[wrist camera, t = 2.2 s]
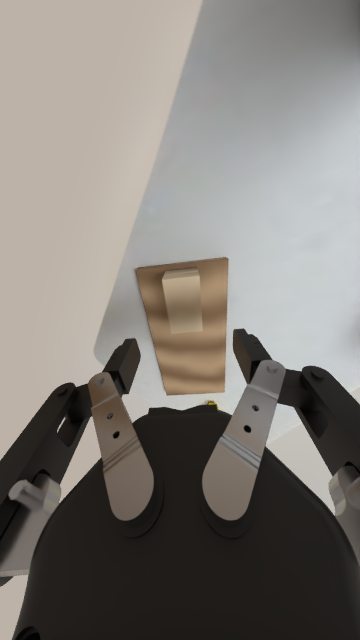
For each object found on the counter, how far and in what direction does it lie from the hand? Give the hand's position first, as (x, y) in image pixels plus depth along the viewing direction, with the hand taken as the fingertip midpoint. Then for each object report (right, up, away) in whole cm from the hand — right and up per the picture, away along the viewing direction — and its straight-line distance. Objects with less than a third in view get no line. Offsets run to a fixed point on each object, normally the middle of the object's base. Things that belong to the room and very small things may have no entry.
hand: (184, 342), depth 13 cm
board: (+1, -2, +15) cm, 15 cm away
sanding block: (0, +5, +9) cm, 11 cm away
